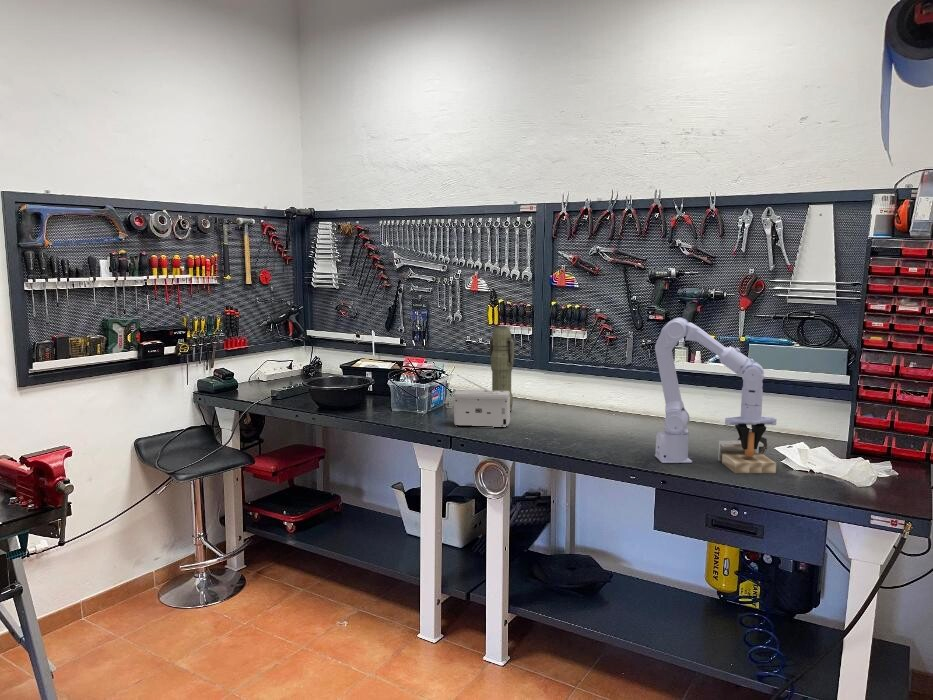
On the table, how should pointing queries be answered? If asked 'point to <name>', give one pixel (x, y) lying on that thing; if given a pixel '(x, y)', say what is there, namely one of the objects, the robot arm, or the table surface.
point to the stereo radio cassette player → (481, 407)
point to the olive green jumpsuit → (502, 360)
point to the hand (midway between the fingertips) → (749, 448)
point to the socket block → (749, 463)
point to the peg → (750, 445)
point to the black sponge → (762, 440)
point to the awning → (733, 448)
